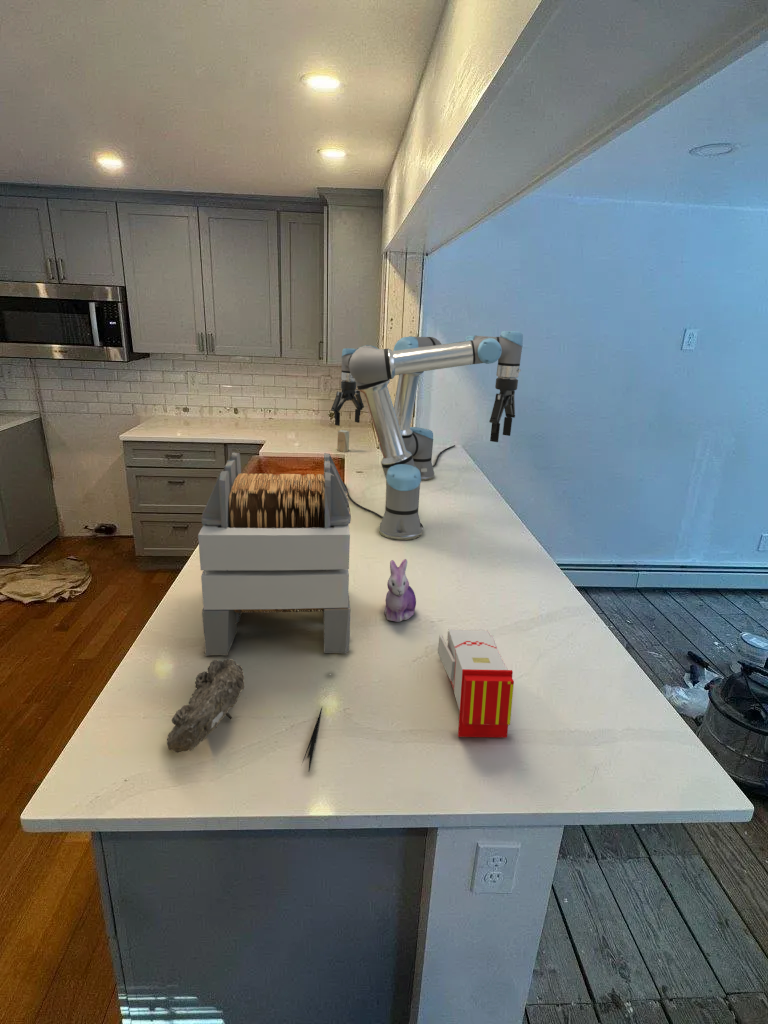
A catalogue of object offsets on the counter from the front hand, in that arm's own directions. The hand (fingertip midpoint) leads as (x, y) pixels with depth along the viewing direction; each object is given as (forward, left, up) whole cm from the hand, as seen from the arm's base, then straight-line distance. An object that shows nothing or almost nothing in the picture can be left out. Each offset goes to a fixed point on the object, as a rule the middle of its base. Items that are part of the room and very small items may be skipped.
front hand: (500, 438), depth 203 cm
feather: (+50, -113, -32) cm, 128 cm away
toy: (+62, -83, -32) cm, 109 cm away
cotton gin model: (+14, -99, -32) cm, 105 cm away
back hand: (-103, +9, -14) cm, 104 cm away
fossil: (+37, -128, -32) cm, 138 cm away
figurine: (+30, -74, -32) cm, 86 cm away
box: (-120, +20, -32) cm, 126 cm away
